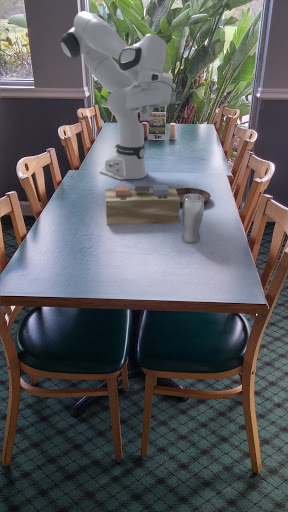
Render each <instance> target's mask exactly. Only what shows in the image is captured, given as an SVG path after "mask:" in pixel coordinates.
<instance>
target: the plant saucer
mask: <svg viewBox="0 0 288 512" xmlns="http://www.w3.org/2000/svg"><path fill="white" fill-rule="evenodd" d="M175 189H176V191H177V194H178V196H179V198H180V207H182V206H183V199H184V196H185V195H187V194H199V195H202V196H203V197H204V205H205V204H206V203H207V202H208V201H209V200H210V199H211V196H212V195H211V193H210V192H209V191H206V190H204V189H201V188H194V187H179V188H175Z"/></svg>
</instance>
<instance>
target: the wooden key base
mask: <svg viewBox="0 0 288 512" xmlns="http://www.w3.org/2000/svg"><path fill="white" fill-rule="evenodd" d="M129 189H130V196H116V193H115V188H106V189H105V213H106V216H105V218H106V219H105V220H106V226H107V225H134V224H135V225H143V224H150V225H151V224H179V222H180V207H181V206H180V198H179V196H178V194H177V191H176V189H177V188H175V187H168V189H169V195H155V194H154V191H153V187H152V188H151V187H149V192H135V188H129Z"/></svg>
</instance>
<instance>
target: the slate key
mask: <svg viewBox="0 0 288 512" xmlns="http://www.w3.org/2000/svg"><path fill="white" fill-rule="evenodd" d="M152 188H153V191H154V194H155V195H169V189H168V188H169V187H168V185H167V184H153V186H152Z"/></svg>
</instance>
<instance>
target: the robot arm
mask: <svg viewBox="0 0 288 512" xmlns="http://www.w3.org/2000/svg"><path fill="white" fill-rule="evenodd" d="M60 46H61V49H62V51H63V53H64V54H65V55H66V56H68V57H69V58H70V59H71V60H74V59H78V58H79V57H81V56H82V55H83V62H84V64H85V65H86V67H87V69H88V70H89V71H90V73H91V75H93V77H94V78H95V79H96V81H98V83H99V84H100V85H101V86H102V87H103V88H104V89H105V91H107V92H110V94H108V96H107V102H106V103H107V107H108V110H109V111H110V113H111V114H113V115H114V117H115V119H116V122H117V126H118V136H119V137H118V141H119V143H118V144H116V145H115V146H114V149H116V150H115V152H113V154H111V155H110V156H108V157H106V158H107V159H105V162H104V167H102V168H100V170H99V173H100V174H103V175H104V176H107V177H109V178H110V177H111V178H114V179H116V180H121V181H123V180H138V179H143V178H146V177H147V176H148V175H147V170H146V166H145V153H146V152H145V147H146V146H145V143H144V142H145V141H144V140H145V129H144V125H143V124H142V123H140V121H142V122H145V121H150V116H151V115H152V113H153V111H154V109H155V108H156V109H157V108H160V107H168V106H169V105H170V103H171V100H172V91H173V89H172V86H173V80H172V79H171V78H169V77H168V76H165V75H164V66H165V64H166V57H167V43H166V41H165V39H163V38H162V37H161V36H159V35H157V34H154V33H153V34H152V33H148V34H145V36H144V37H143V38H142V40H140V41H139V42H137V43H134V44H132V45H128V44H127V42H125V41H124V40H123V39H122V37H121V36H120V35H119V34H118V33H117V32H116V31H115V30H114V28H113V27H112V26H111V25H110V24H109V23H108V22H107V21H106V19H105V18H104V16H103V15H102V14H100V13H98V12H97V13H92V12H90V11H87V10H86V11H85V10H83V11H80V12H78V13H77V14H76V15H75V17H74V20H73V26H72V27H71V28H70V29H69V30H68V31H67V32H64V34H62V35H61V38H60ZM115 59H116V60H118V61H115ZM138 113H139V114H140V118H139V117H138Z"/></svg>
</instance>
